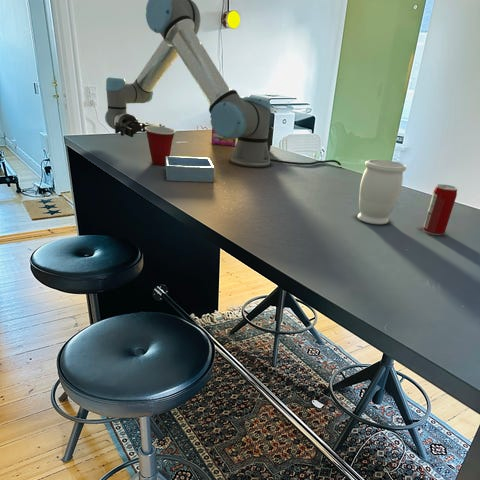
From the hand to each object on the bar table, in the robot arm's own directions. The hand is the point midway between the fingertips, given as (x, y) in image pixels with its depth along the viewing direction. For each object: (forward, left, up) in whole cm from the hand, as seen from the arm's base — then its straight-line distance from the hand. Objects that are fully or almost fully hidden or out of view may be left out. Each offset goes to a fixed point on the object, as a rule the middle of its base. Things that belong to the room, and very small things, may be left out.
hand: (149, 132), depth 163 cm
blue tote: (-13, +26, -9) cm, 30 cm away
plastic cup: (-4, +8, -9) cm, 13 cm away
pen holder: (-49, -27, -9) cm, 56 cm away
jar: (-60, +69, -9) cm, 92 cm away
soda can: (-73, +78, -9) cm, 107 cm away
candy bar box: (-34, -39, -9) cm, 52 cm away
